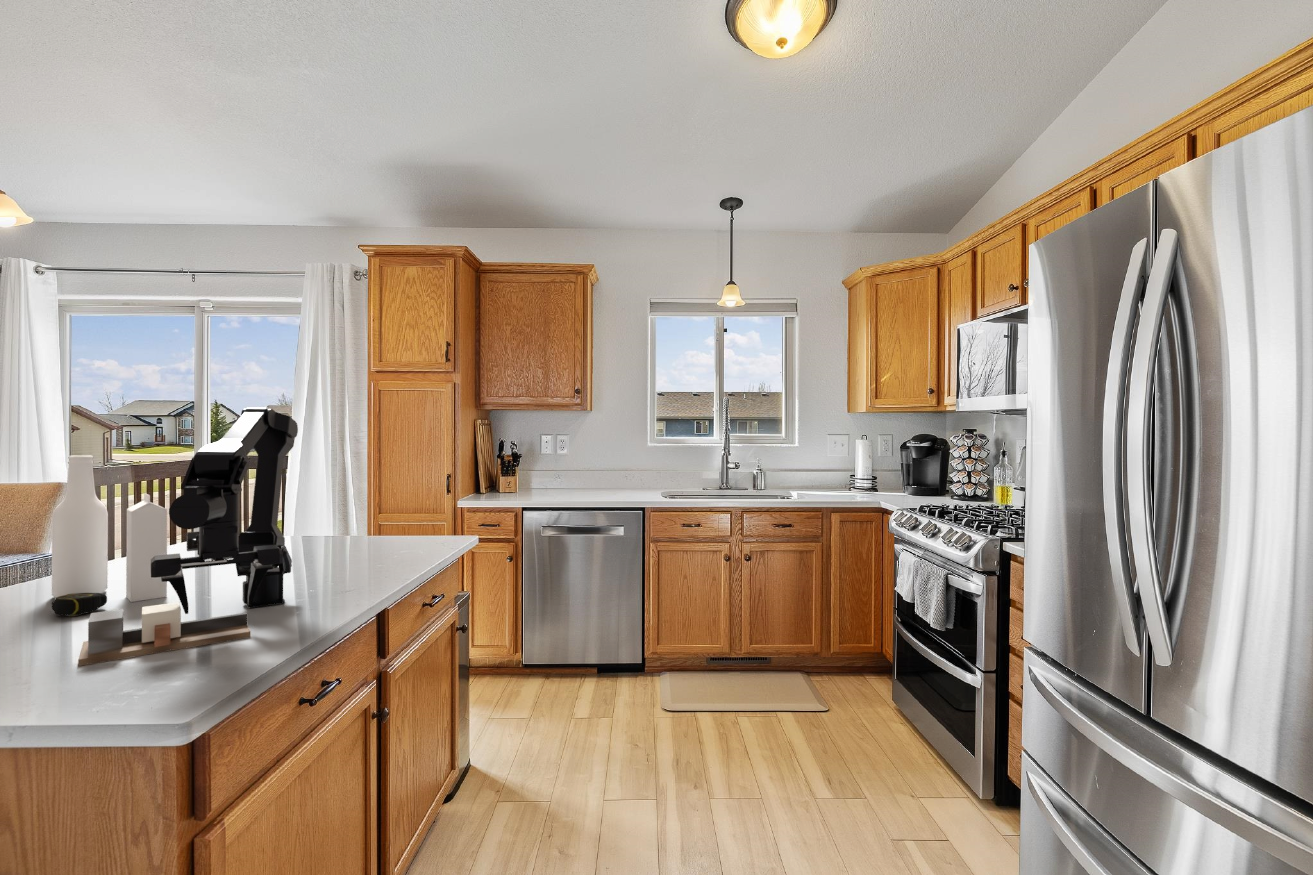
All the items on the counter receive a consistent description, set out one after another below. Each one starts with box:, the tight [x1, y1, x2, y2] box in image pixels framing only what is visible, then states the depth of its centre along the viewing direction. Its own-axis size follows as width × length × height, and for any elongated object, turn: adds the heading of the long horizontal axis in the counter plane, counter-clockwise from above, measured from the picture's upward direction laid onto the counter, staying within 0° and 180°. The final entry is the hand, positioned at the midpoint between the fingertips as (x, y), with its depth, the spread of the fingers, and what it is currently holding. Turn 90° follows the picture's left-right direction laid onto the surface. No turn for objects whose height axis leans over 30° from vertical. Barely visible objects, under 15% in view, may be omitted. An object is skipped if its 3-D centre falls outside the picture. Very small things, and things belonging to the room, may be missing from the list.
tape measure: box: [51, 593, 108, 617], centre depth 120 cm, size 7×7×4 cm
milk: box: [125, 493, 168, 603], centre depth 132 cm, size 6×6×22 cm
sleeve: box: [141, 601, 182, 643], centre depth 104 cm, size 5×5×5 cm
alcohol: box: [51, 454, 109, 600], centre depth 133 cm, size 9×9×30 cm
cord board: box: [77, 608, 251, 667], centre depth 105 cm, size 22×10×6 cm, turn 130°
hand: (218, 608), depth 109 cm, fingers open, 9 cm apart
